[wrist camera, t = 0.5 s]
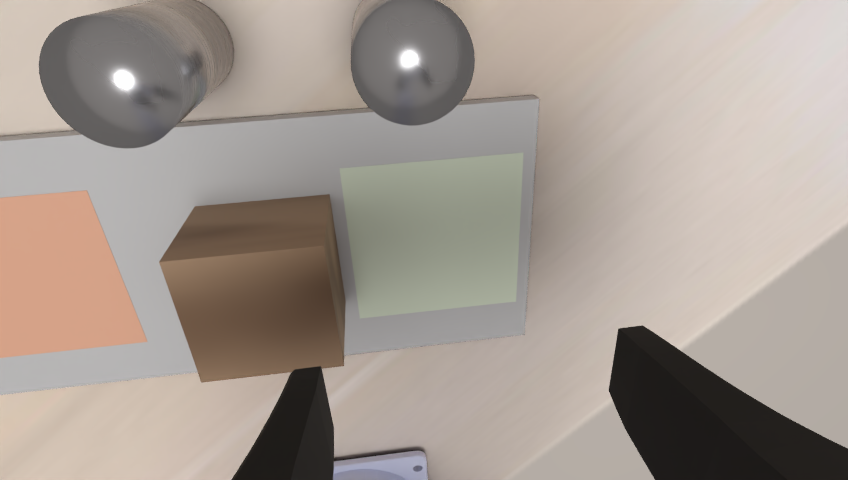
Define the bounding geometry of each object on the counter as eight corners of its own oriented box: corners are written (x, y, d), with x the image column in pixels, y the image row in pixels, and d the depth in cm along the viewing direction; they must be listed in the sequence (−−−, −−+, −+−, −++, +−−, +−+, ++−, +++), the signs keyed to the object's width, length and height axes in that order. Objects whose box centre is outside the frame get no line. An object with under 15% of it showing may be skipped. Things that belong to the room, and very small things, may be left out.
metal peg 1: (242, 88, 18) (196, 143, 13) (153, 95, 18) (69, 153, 12) (221, -7, 16) (160, 11, 11) (124, -1, 16) (15, 20, 11)
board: (520, 326, 25) (524, 334, 24) (-9, 387, 23) (-18, 397, 22) (534, 95, 19) (539, 98, 19) (-158, 148, 17) (-175, 155, 17)
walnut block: (345, 300, 22) (343, 365, 18) (226, 313, 22) (201, 382, 18) (329, 194, 20) (323, 245, 16) (194, 206, 19) (158, 261, 16)
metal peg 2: (440, 74, 18) (474, 120, 13) (357, 80, 18) (358, 130, 13) (437, -19, 17) (474, -8, 12) (347, -14, 17) (343, 0, 12)
